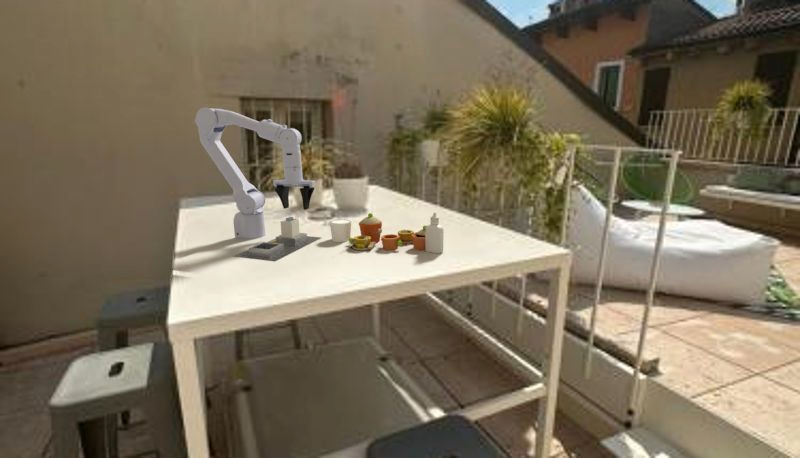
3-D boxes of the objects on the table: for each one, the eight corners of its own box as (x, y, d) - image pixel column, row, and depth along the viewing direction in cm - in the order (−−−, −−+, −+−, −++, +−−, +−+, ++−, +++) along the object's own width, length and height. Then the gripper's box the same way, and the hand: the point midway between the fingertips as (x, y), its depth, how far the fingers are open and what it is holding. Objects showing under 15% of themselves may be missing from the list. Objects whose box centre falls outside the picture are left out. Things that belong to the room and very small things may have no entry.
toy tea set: (347, 252, 129) (346, 221, 127) (355, 238, 144) (354, 210, 142) (433, 253, 128) (434, 221, 125) (432, 239, 143) (432, 211, 140)
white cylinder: (348, 245, 134) (347, 224, 133) (327, 244, 136) (326, 223, 134) (354, 240, 141) (354, 219, 139) (335, 239, 142) (334, 218, 140)
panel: (233, 259, 121) (232, 249, 120) (285, 237, 145) (285, 228, 144) (275, 264, 117) (274, 254, 116) (322, 240, 140) (321, 231, 140)
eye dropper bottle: (436, 248, 131) (437, 210, 128) (444, 253, 126) (445, 213, 123) (423, 249, 130) (424, 211, 127) (431, 254, 125) (431, 214, 122)
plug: (282, 242, 134) (280, 218, 132) (289, 239, 138) (287, 216, 136) (293, 243, 133) (291, 219, 131) (299, 240, 137) (298, 216, 135)
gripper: (266, 167, 135) (270, 209, 139) (305, 168, 131) (309, 211, 134) (279, 165, 142) (282, 205, 145) (317, 166, 137) (320, 207, 140)
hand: (296, 208), depth 140 cm, fingers open, 7 cm apart
